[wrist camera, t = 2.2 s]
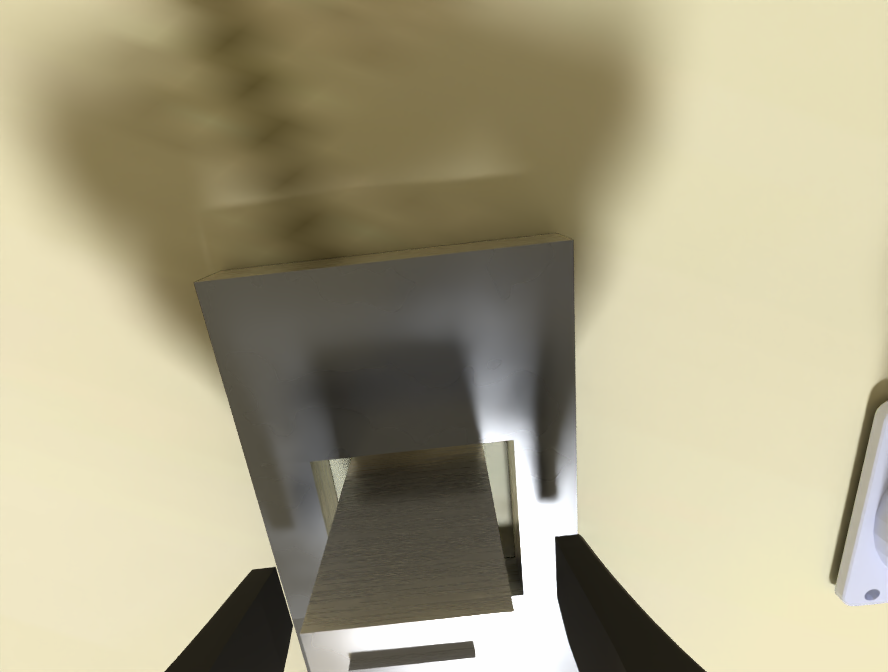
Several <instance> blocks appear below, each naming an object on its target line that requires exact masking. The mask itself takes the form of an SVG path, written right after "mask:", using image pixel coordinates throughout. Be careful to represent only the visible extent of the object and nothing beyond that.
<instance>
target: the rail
mask: <svg viewBox="0 0 888 672" xmlns="http://www.w3.org/2000/svg"><path fill="white" fill-rule="evenodd" d="M194 285H195V289H196V292H197V295H198V299H199V302H200V306H201V309H202V313H203V316H204V319H205V323H206V326H207V330H208V333H209V336H210V340H211V343H212V347H213V350H214V353H215V357H216V360H217V364H218V367H219V371H220V374H221V377H222V381H223V384H224V388H225V391H226V394H227V398H228V401H229V405H230V408H231V411H232V415H233V418H234V422H235V425H236V428H237V432H238V435H239V439H240V442H241V446H242V449H243V452H244V456H245V459H246V463H247V466H248V469H249V473H250V476H251V480H252V483H253V486H254V490H255V493H256V497H257V500H258V504H259V507H260V510H261V514H262V517H263V521H264V524H265V527H266V531H267V534H268V538H269V541H270V544H271V548H272V551H273V555H274V558H275V562H276V565H277V568H278V572H279V575H280V579H281V582H282V585H283V589H284V592H285V596H286V599H287V602H288V606H289V609H290V613H291V616H292V620H293V623H294V626H295V630H296V633H297V637H298V640H299V643H300V647H301V650H302V654H303V657H304V660H305V664H306V667H307V671H308V672H311V671H310V667H309V664H308V660H307V657H306V653H305V650H304V646H303V643H302V639H301V636H300V632H301V628H302V625H303V622H304V618H305V615H306V611H307V608H308V605H309V601H310V598H311V594H312V591H313V587H314V584H315V581H316V577H317V574H318V570H319V567H320V564H321V560H322V557H323V553H324V550H325V546H326V543H327V540H328V536H329V533H330V529H331V526H332V523H333V519H334V516H335V512H336V509H337V505H338V501H337V496H336V492H335V487H334V483H333V478H332V474H331V469H330V465H329V460H331V459H340V458H350V457H359V456H368V455H378V454H387V453H396V452H405V451H415V450H424V449H433V448H442V447H452V446H461V445H470V444H480V443H489V442H498V441H507V444H508V458H509V472H510V486H511V500H512V514H513V528H514V542H515V556H516V557H513V558H504V560H505V565H506V570H507V575H508V581H509V586H510V591H511V596H512V601H513V607H514V612H515V625H516V638H517V651H518V664H519V672H579V671H578V668H577V665H576V662H575V659H574V657H573V654H572V651H571V648H570V645H569V642H568V639H567V635H566V631H565V628H564V624H563V620H562V616H561V612H560V608H559V604H558V600H557V590H556V561H555V536H564V535H573V534H578V528H577V457H576V386H575V314H574V243H573V239H570V238H568V237H565V236H563V235H560V234H558V233H552V234H543V235H535V236H526V237H517V238H508V239H499V240H490V241H481V242H472V243H463V244H454V245H446V246H437V247H428V248H419V249H410V250H401V251H392V252H383V253H374V254H366V255H357V256H348V257H339V258H330V259H321V260H312V261H303V262H294V263H286V264H277V265H268V266H259V267H250V268H241V269H232V270H223V271H220V272H217V273H215V274H213V275H210V276H208V277H205V278H203V279H201V280H198V281H196V282H194Z"/></svg>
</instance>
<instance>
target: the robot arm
mask: <svg viewBox="0 0 888 672" xmlns="http://www.w3.org/2000/svg"><path fill="white" fill-rule="evenodd" d="M555 561H556V590H557V600H558V604H559V608H560V612H561V616H562V620H563V624H564V628H565V631H566V635H567V639H568V642H569V645H570V648H571V651H572V654H573V657H574V659H575V662H576V665H577V668H578V671H579V672H706V671H705V670H704V669H703V668H702V667H701V666H699V665H698V664H697V663H696V662H695V661H694V660H693V659H692V658H691V657H690V656H689V655H688V654H687V653H685V652H684V651H683V650H682V649H681V648H680V647H679V646H678V645H677V644H676V643H675V642H674V641H673V640H672V639H671V638H670V637H669V636H668V635H667V634H666V633H665V632H664V631H663V630H662V629H661V628H660V627H659V626H658V625H657V624H656V623H655V622H654V621H653V620H652V619H651V618H650V616H649V615H648V614H647V613H646V612H645V611H644V610H643V609H642V608H641V607H640V606H639V605H638V604H637V602H636V601H635V600H634V599H633V598H632V597H631V596H630V595H629V594H628V592H627V591H626V590H625V589H624V588H623V587H622V586H621V585H620V583H619V582H618V581H617V580H616V579H615V578H614V576H613V575H612V574H611V573H610V572H609V570H608V569H607V568H606V567H605V565H604V564H603V563H602V562H601V561H600V559H599V558H598V557H597V555H596V554H595V553H594V552H593V550H592V549H591V548H590V546H589V545H588V544H587V542H586V541H585V540H584V538H583V537H582V536H580V535H579V534H573V535H564V536H555ZM835 594H836V595H837V596H838V597H839V598H840V600H841V601H842V602H843V603H844V604H846V605H849V606H860V605H870V604H879V603H888V401H886V402H885V403H883V404H881V405H880V407H879V408H878V409H877V411H876V413H875V416H874V420H873V425H872V429H871V433H870V438H869V442H868V447H867V451H866V455H865V460H864V464H863V468H862V473H861V477H860V481H859V486H858V490H857V495H856V499H855V503H854V508H853V512H852V516H851V521H850V525H849V530H848V534H847V538H846V543H845V547H844V551H843V556H842V560H841V565H840V569H839V573H838V578H837V582H836V586H835ZM292 628H293V624H292V621H291V618H290V614H289V611H288V607H287V604H286V601H285V597H284V594H283V590H282V587H281V584H280V580H279V577H278V574H277V570H276V567H272V568H263V569H254V570H252V571H251V572H250V573H249V574H248V575H247V576H246V578H245V579H244V580H243V581H242V582H241V583H240V585H239V586H238V587H237V588H236V589H235V590H234V592H233V593H232V594H231V595H230V596H229V598H228V599H227V600H226V601H225V602H224V604H223V605H222V606H221V607H220V608H219V610H218V611H217V612H216V613H215V614H214V616H213V617H212V618H211V619H210V620H209V622H208V623H207V624H206V625H205V626H204V627H203V629H202V630H201V631H200V632H199V633H198V634H197V636H196V637H195V638H194V639H193V640H192V641H191V643H190V644H189V645H188V646H187V647H186V648H185V650H184V651H183V652H182V653H181V654H180V655H179V656H178V657H177V659H176V660H175V661H174V662H173V663H172V664H171V665H170V666H169V667H168V668H167V669H166V671H165V672H284V668H285V663H286V658H287V654H288V649H289V643H290V638H291V633H292Z"/></svg>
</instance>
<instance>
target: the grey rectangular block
mask: <svg viewBox="0 0 888 672" xmlns="http://www.w3.org/2000/svg"><path fill="white" fill-rule="evenodd" d="M300 636H301V639H302V643H303V646H304V650H305V653H306V657H307V660H308V664H309V667H310V671H311V672H519V664H518V651H517V638H516V625H515V612H514V607H513V601H512V596H511V591H510V586H509V581H508V575H507V570H506V565H505V560H504V555H503V549H502V544H501V539H500V534H499V529H498V523H497V518H496V513H495V508H494V503H493V497H492V492H491V487H490V482H489V477H488V472H487V466H486V461H485V456H484V451H483V446H482V443H480V444H470V445H461V446H452V447H442V448H433V449H424V450H415V451H405V452H396V453H387V454H378V455H368V456H359V457H352V458H351V461H350V464H349V468H348V471H347V475H346V478H345V482H344V485H343V488H342V492H341V495H340V499H339V502H338V505H337V509H336V512H335V516H334V519H333V523H332V526H331V529H330V533H329V536H328V540H327V543H326V546H325V550H324V553H323V557H322V560H321V564H320V567H319V570H318V574H317V577H316V581H315V584H314V587H313V591H312V594H311V598H310V601H309V605H308V608H307V611H306V615H305V618H304V622H303V625H302V628H301V632H300Z"/></svg>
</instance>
